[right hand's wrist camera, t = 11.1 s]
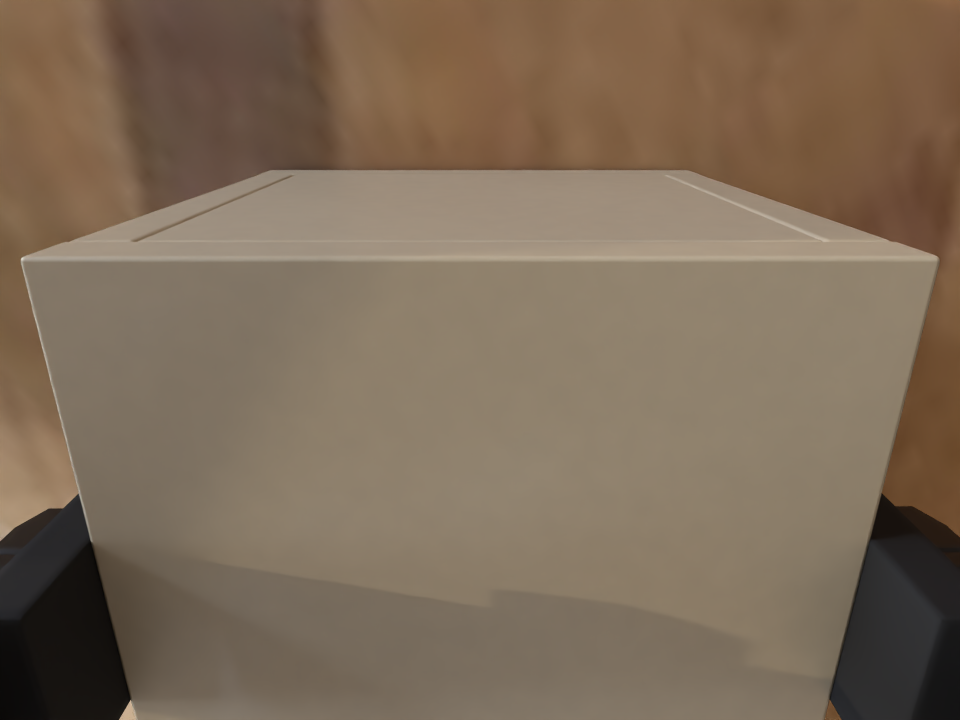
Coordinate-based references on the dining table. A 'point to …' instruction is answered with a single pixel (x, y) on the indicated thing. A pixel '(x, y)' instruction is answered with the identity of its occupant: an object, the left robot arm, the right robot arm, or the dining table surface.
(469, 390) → the cabinet
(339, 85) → the dining table surface
